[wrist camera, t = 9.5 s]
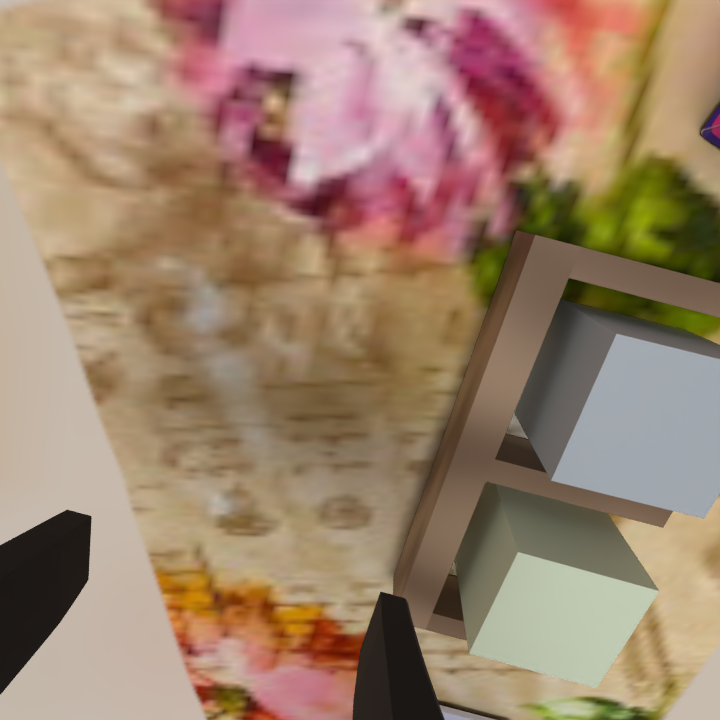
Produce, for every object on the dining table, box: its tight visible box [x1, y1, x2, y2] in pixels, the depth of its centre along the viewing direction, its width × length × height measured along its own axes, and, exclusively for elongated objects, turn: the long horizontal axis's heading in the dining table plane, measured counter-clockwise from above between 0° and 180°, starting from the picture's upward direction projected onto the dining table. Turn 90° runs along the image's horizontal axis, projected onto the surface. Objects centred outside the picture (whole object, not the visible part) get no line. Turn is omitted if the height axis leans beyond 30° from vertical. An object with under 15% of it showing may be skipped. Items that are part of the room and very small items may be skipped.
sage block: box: [455, 482, 659, 688], centre depth 19 cm, size 5×5×5 cm
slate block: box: [515, 299, 720, 519], centre depth 16 cm, size 5×5×5 cm
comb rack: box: [393, 230, 720, 640], centre depth 18 cm, size 17×8×2 cm, turn 166°
